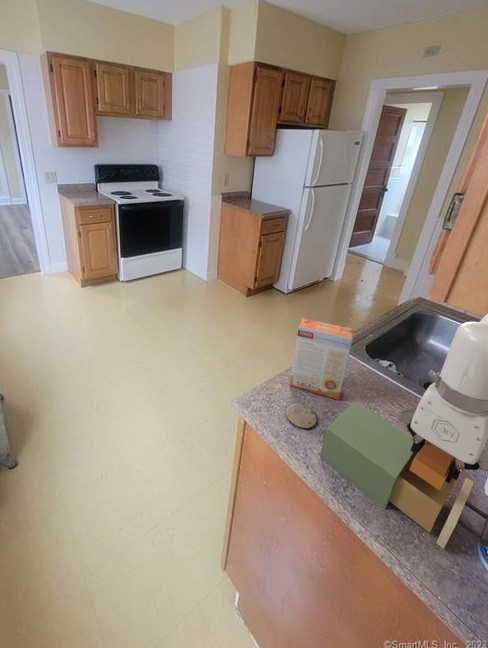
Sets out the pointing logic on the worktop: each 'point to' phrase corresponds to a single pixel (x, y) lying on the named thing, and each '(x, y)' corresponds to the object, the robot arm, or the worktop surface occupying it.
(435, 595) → the worktop surface
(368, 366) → the worktop surface
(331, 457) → the cabinet
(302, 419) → the flatbread
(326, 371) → the cracker box
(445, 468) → the orange block
